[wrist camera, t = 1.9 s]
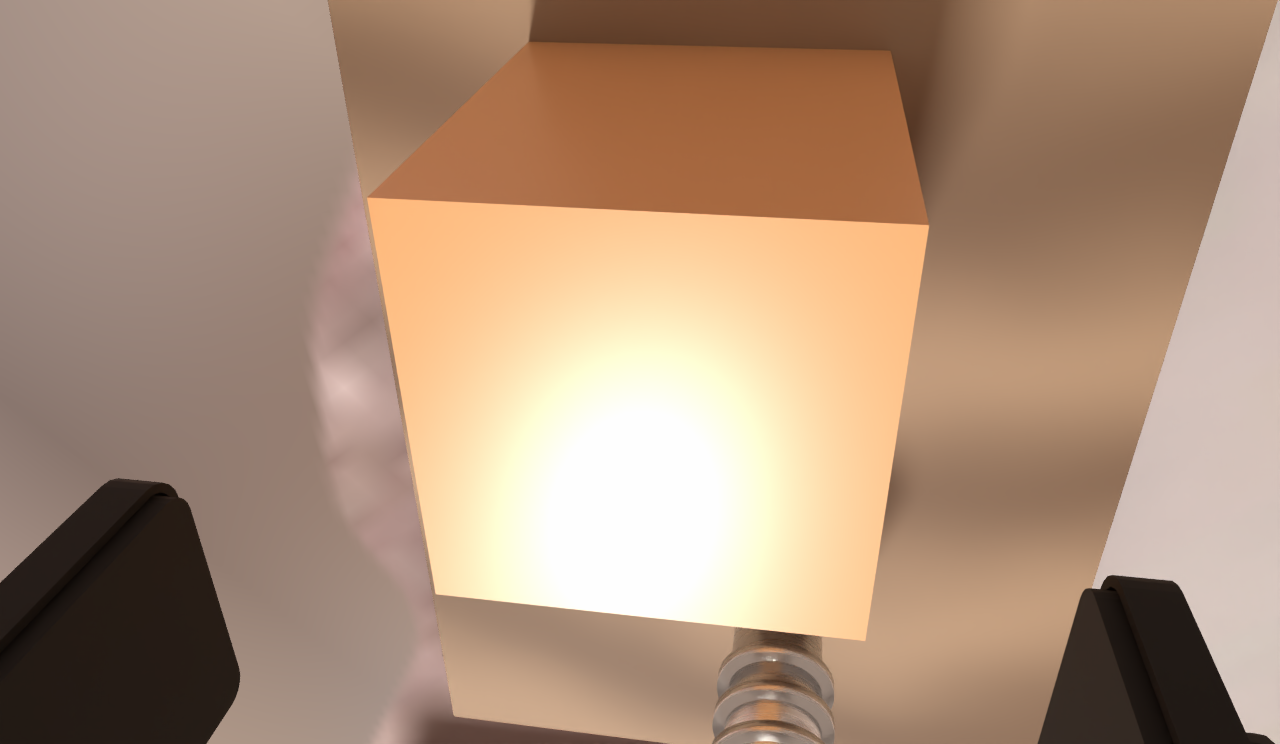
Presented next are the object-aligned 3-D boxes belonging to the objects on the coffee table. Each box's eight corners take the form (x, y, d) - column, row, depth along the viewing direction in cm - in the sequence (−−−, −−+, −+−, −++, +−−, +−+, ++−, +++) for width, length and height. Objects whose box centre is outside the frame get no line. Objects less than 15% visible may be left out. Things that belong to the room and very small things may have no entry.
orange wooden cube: (529, 41, 17) (366, 198, 11) (890, 50, 16) (928, 225, 10) (550, 346, 20) (435, 593, 14) (852, 367, 19) (864, 641, 13)
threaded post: (727, 574, 22) (701, 787, 18) (838, 585, 22) (841, 805, 17) (723, 650, 24) (699, 866, 19) (828, 662, 23) (829, 885, 19)
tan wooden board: (341, -98, 17) (312, -89, 16) (1272, -95, 15) (1304, -84, 14) (467, 681, 28) (453, 716, 27) (1019, 748, 26) (1027, 789, 25)
